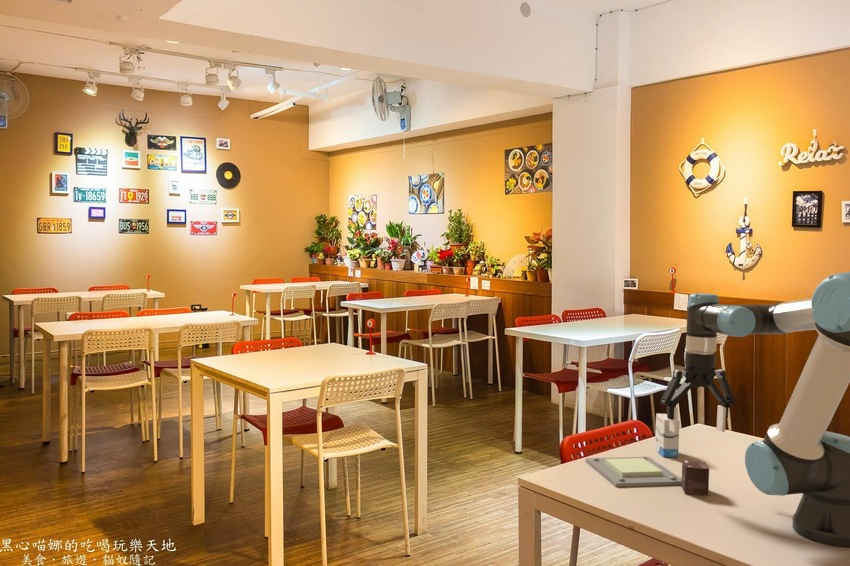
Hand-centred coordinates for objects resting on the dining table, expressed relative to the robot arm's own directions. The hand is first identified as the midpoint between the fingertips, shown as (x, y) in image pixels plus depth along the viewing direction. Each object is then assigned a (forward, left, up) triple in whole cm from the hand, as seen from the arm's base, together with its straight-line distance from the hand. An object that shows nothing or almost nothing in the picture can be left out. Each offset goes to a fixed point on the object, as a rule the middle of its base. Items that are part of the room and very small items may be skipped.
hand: (696, 431), depth 188 cm
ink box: (+33, -9, -16) cm, 38 cm away
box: (0, 0, -16) cm, 17 cm away
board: (+16, +10, -16) cm, 25 cm away
